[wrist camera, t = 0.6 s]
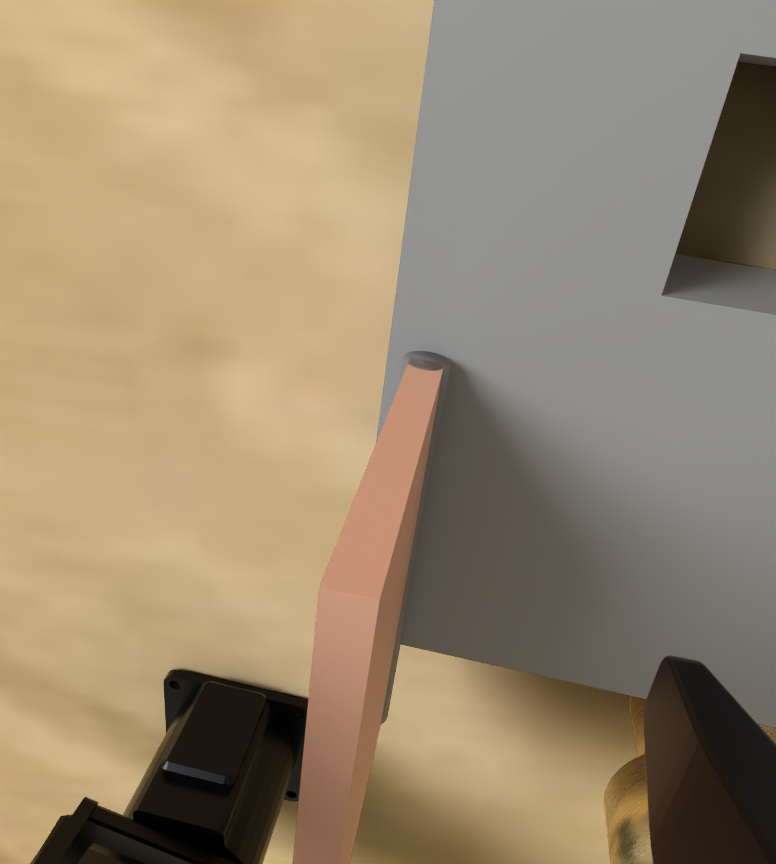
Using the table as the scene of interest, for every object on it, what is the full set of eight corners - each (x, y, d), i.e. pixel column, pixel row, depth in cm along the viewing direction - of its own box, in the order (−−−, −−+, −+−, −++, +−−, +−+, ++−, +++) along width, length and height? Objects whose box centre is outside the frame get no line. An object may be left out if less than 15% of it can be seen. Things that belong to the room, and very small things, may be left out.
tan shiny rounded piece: (729, 772, 27) (789, 984, 21) (576, 736, 28) (590, 932, 22) (791, 664, 24) (882, 873, 18) (618, 627, 25) (649, 817, 19)
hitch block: (778, 628, 24) (828, 740, 20) (378, 543, 25) (351, 633, 21) (1109, 19, 15) (1314, 4, 11) (466, -61, 16) (446, -99, 12)
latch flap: (390, 701, 22) (321, 1025, 15) (356, 693, 22) (271, 1010, 15) (453, 356, 16) (391, 602, 9) (407, 347, 16) (308, 584, 9)
